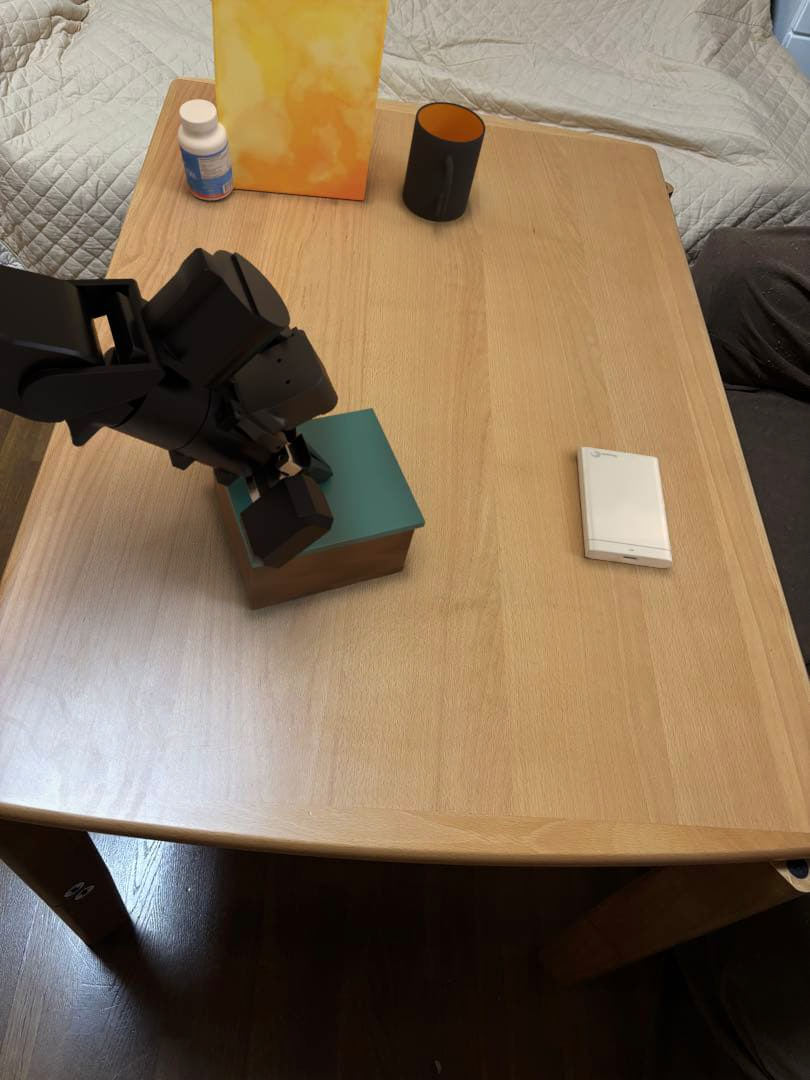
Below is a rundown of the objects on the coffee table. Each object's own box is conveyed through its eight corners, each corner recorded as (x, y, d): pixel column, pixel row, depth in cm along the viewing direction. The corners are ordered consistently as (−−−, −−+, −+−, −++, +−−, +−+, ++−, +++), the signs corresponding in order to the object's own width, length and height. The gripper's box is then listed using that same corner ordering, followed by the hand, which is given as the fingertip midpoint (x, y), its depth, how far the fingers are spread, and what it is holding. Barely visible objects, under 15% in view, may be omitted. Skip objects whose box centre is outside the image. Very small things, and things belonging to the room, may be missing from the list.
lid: (371, 413, 71) (372, 407, 70) (424, 527, 65) (425, 521, 65) (210, 443, 66) (210, 437, 66) (251, 568, 61) (252, 563, 60)
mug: (402, 236, 96) (417, 155, 87) (401, 177, 103) (415, 96, 94) (469, 244, 97) (490, 166, 89) (464, 185, 104) (483, 107, 95)
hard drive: (581, 445, 80) (590, 548, 73) (659, 456, 81) (675, 560, 74) (575, 455, 81) (584, 558, 75) (652, 466, 82) (667, 569, 75)
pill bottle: (182, 177, 95) (166, 99, 87) (226, 167, 97) (214, 89, 88) (196, 206, 93) (180, 130, 84) (240, 196, 94) (229, 119, 86)
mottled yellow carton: (359, 143, 105) (383, -69, 85) (363, 201, 98) (391, -14, 79) (223, 129, 102) (216, -95, 82) (219, 188, 95) (209, -40, 76)
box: (355, 462, 76) (363, 415, 71) (402, 571, 71) (415, 529, 65) (214, 491, 72) (210, 443, 66) (252, 610, 66) (251, 569, 61)
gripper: (310, 444, 45) (448, 510, 58) (225, 235, 54) (362, 332, 66) (182, 549, 49) (337, 590, 62) (123, 340, 58) (270, 413, 71)
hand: (328, 474), depth 65 cm, fingers closed, pressing on lid
